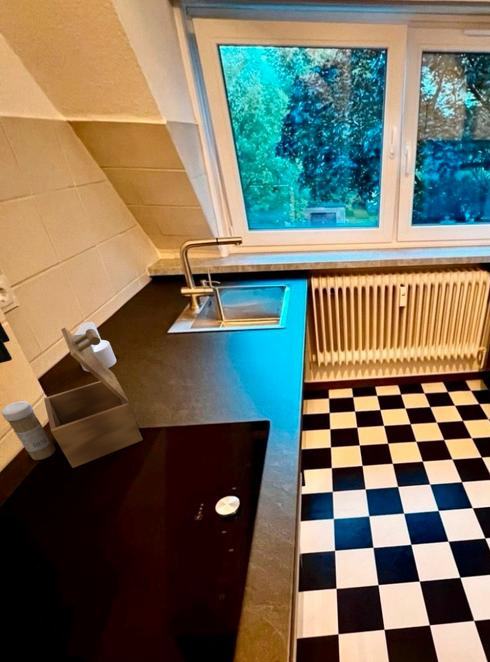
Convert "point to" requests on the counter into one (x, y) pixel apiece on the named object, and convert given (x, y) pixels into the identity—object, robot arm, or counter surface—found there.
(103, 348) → the cylinder with rectangular tab
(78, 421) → the chest
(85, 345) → the lid
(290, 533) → the counter surface
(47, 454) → the sprinkles bottle
